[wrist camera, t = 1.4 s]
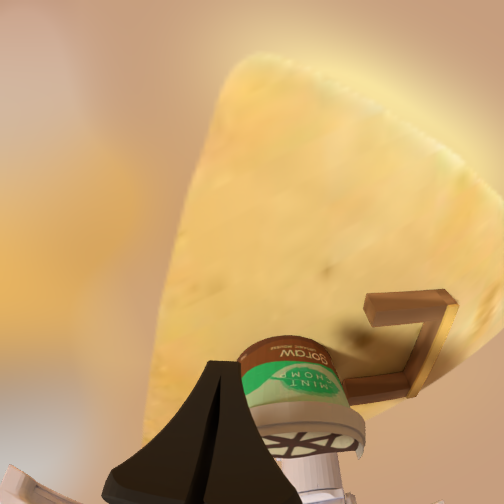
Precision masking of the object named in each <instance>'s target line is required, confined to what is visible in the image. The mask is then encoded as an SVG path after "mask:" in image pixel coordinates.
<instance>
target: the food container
mask: <svg viewBox="0 0 504 504" xmlns="http://www.w3.org/2000/svg"><path fill="white" fill-rule="evenodd" d="M237 362H239V363H241V378H242V384H243V388H244V393H245V396H246V399H247V403H248V406H249V409H250V412H251V414H252V417H253V419H254V422H255V424H256V427H257V429H258V431H259V433H260V435H261V437H262V439H263V441H264V443H265V445H266V447H267V448H268V450H269V452H270V453H271V455H272V457H274V458H283V459H293V458H301V457H307V456H312V455H318V454H324V453H334V452H344V451H356V454H357V457H358V459H360V458H361V456H362V454H363V451H364V446H365V422H364V419H363V417H362V416H361V415H360V414H359V413H357V412H356V411H354V410H353V409H351V408H350V406H349V403H348V401H347V398H346V395H345V393H344V390H343V388H342V385H341V382H340V380H339V377H338V375H337V372H336V370H335V367H334V365H333V362H332V360H331V357H330V355H329V354H328V352H327V351H326V350H325V348H324V347H323V346H322V345H320V344H318V343H317V342H315V341H313V340H312V339H308V338H304V337H301V336H292V335H285V336H275V337H271V338H267V339H264V340H261V341H259V342H257V343H255V344H253V345H251V346H250V347H249V348H247V349H246V350H245V351H244V352H243V353H242V354H241V355H240V357H239V358H238V359H237Z"/></svg>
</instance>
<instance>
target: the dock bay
mask: <svg viewBox="0 0 504 504" xmlns="http://www.w3.org/2000/svg"><path fill="white" fill-rule="evenodd" d="M458 308H459V305H458V304H457V303H456V301H455V300H454V299H453V298H452V297H451V296H450V295H449V293H448V292H447V291H446V290H445V289H438V290H423V291H408V292H390V293H369V294H366V298H365V303H364V307H363V309H364V311H365V313H366V316H367V318H368V320H369V322H370V324H371V326H372V327H380V326H391V325H401V324H411V323H419V322H424V323H423V326H422V328H421V331H420V334H419V336H418V339H417V341H416V344H415V346H414V349H413V351H412V353H411V356H410V358H409V360H408V363H407V365H406V367H405V369H404V371H403V372H398V373H391V374H384V375H377V376H369V377H361V378H352V379H344V382H343V385H342V388H343V390H344V393H345V395H346V398H347V401H348V403H349V406H352V405H360V404H367V403H374V402H380V401H386V400H391V399H397V398H402V397H407V399H408V398H413V397H416V396H417V394H418V393H419V391H420V389H421V387H422V386H423V384H424V382H425V380H426V378H427V376H428V375H429V373H430V371H431V369H432V367H433V365H434V363H435V361H436V359H437V357H438V355H439V353H440V351H441V348H442V346H443V344H444V342H445V340H446V337H447V335H448V333H449V330H450V328H451V326H452V323H453V321H454V318H455V316H456V313H457V311H458Z"/></svg>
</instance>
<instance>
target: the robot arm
mask: <svg viewBox="0 0 504 504" xmlns="http://www.w3.org/2000/svg"><path fill="white" fill-rule="evenodd" d="M276 460H277V461H282V470H281V469H280V468H279V466H278V465H277V463H276V461H275V460H274V458H273V457H272V455H271V453H270V452H269V450H268V448H267V447H266V445H265V443H264V441H263V439H262V437H261V435H260V433H259V431H258V429H257V427H256V424H255V422H254V419H253V417H252V414H251V412H250V409H249V406H248V403H247V399H246V396H245V393H244V388H243V384H242V378H241V363H239V362H234V361H211V360H210V361H208V362H207V364H206V367H205V369H204V371H203V373H202V375H201V377H200V378H199V380H198V382H197V384H196V385H195V387H194V389H193V390H192V392H191V393H190V395H189V397H188V398H187V399H186V401H185V402H184V404H183V405H182V406H181V408H180V409H179V411H178V412H177V413H176V414H175V416H174V417H173V418H172V419H171V420H170V422H169V423H168V424H167V425H166V426H165V427H164V428H163V429H162V430H161V431H160V432H159V433H158V434H157V435H156V436H155V437H154V438H153V439H152V440H151V441H150V442H149V443H148V444H147V445H146V446H144V447H143V448H142V449H141V450H139V451H138V452H137V453H136V454H134V455H133V456H132V457H130V458H129V459H128V460H126V461H125V462H123V463H122V464H120V465H118V466H117V467H115V468H114V469H112V470H111V472H110V474H109V476H108V478H107V480H106V482H105V485H104V488H103V492H102V495H101V496H102V498H103V499H104V500H105V501H106V502H107V503H109V504H356V499H355V495H353V494H351V493H346V501H345V495H344V490H343V487H342V480H341V474H340V468H339V462H338V456H337V452H334V453H324V454H318V455H312V456H307V457H301V458H293V459H283V458H276ZM0 504H81V503H79V502H77V501H74V500H72V499H70V498H68V497H65V496H63V495H61V494H59V493H57V492H55V491H53V490H51V489H49V488H47V487H45V486H43V485H41V484H40V483H38V482H36V481H35V480H34V479H33V478H32V477H30V476H29V475H27V474H26V473H24V472H23V471H21V470H19V469H18V468H16V467H14V466H13V465H9V466H8V469H7V471H6V473H5V475H4V478H3V480H2V482H1V485H0ZM432 504H445V503H444V500H440V501H437V502H435V503H432Z"/></svg>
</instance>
